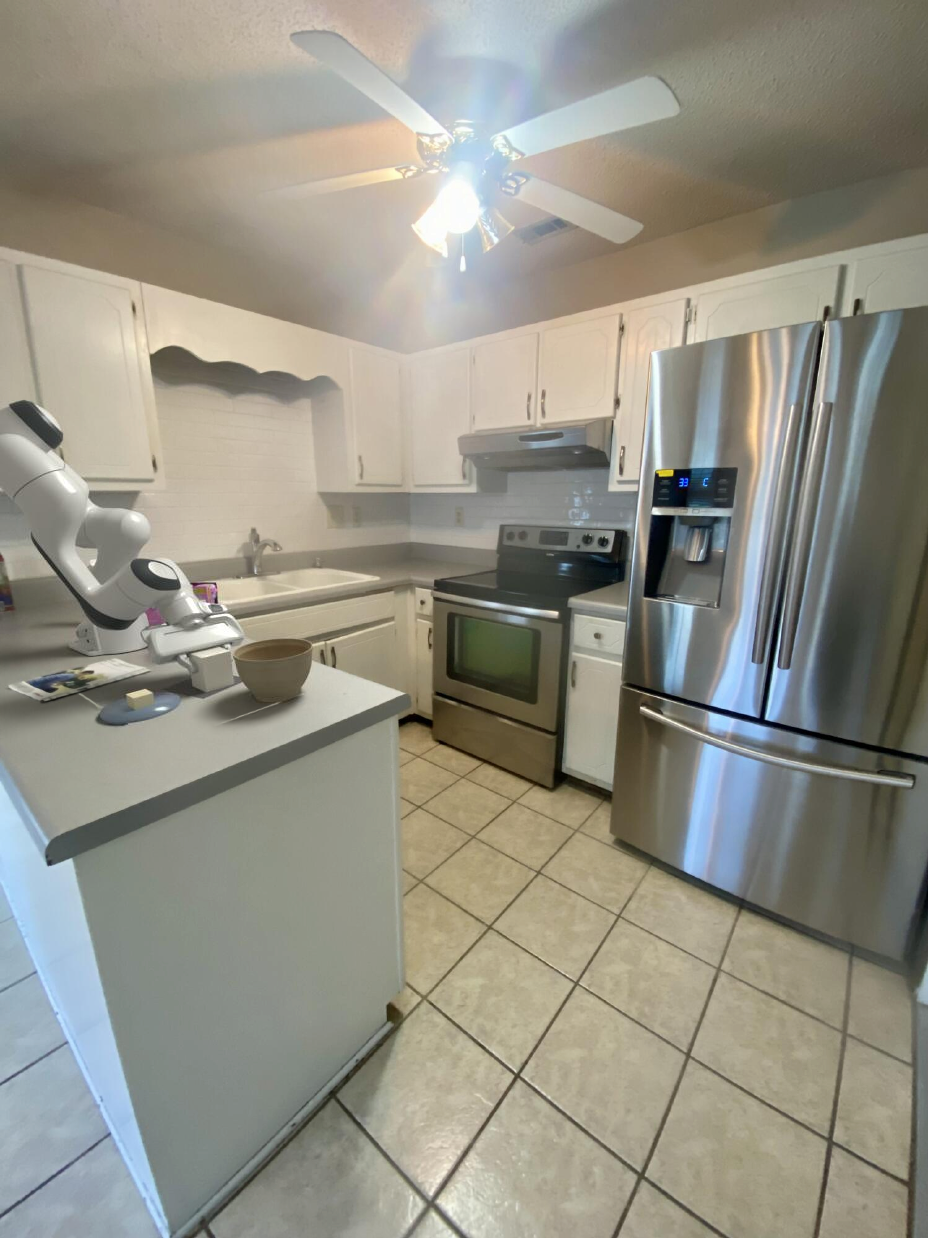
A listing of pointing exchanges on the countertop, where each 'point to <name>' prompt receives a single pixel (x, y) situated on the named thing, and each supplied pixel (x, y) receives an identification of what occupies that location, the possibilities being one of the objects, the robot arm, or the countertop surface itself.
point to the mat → (188, 689)
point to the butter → (140, 699)
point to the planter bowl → (274, 667)
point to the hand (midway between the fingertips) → (212, 667)
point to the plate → (124, 714)
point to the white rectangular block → (212, 668)
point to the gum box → (200, 591)
